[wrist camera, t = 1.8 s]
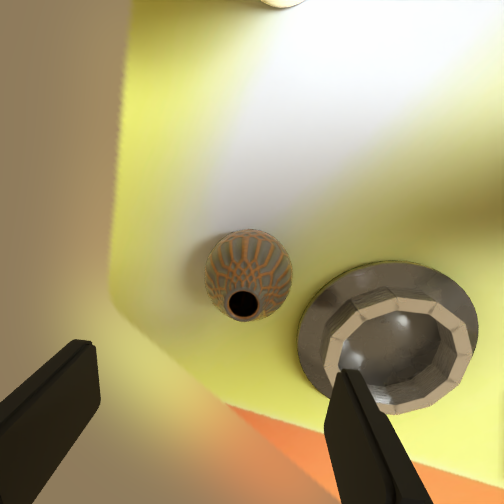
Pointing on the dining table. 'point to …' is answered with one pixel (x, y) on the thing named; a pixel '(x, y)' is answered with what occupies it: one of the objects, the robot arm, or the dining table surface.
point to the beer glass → (282, 3)
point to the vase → (248, 275)
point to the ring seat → (390, 333)
